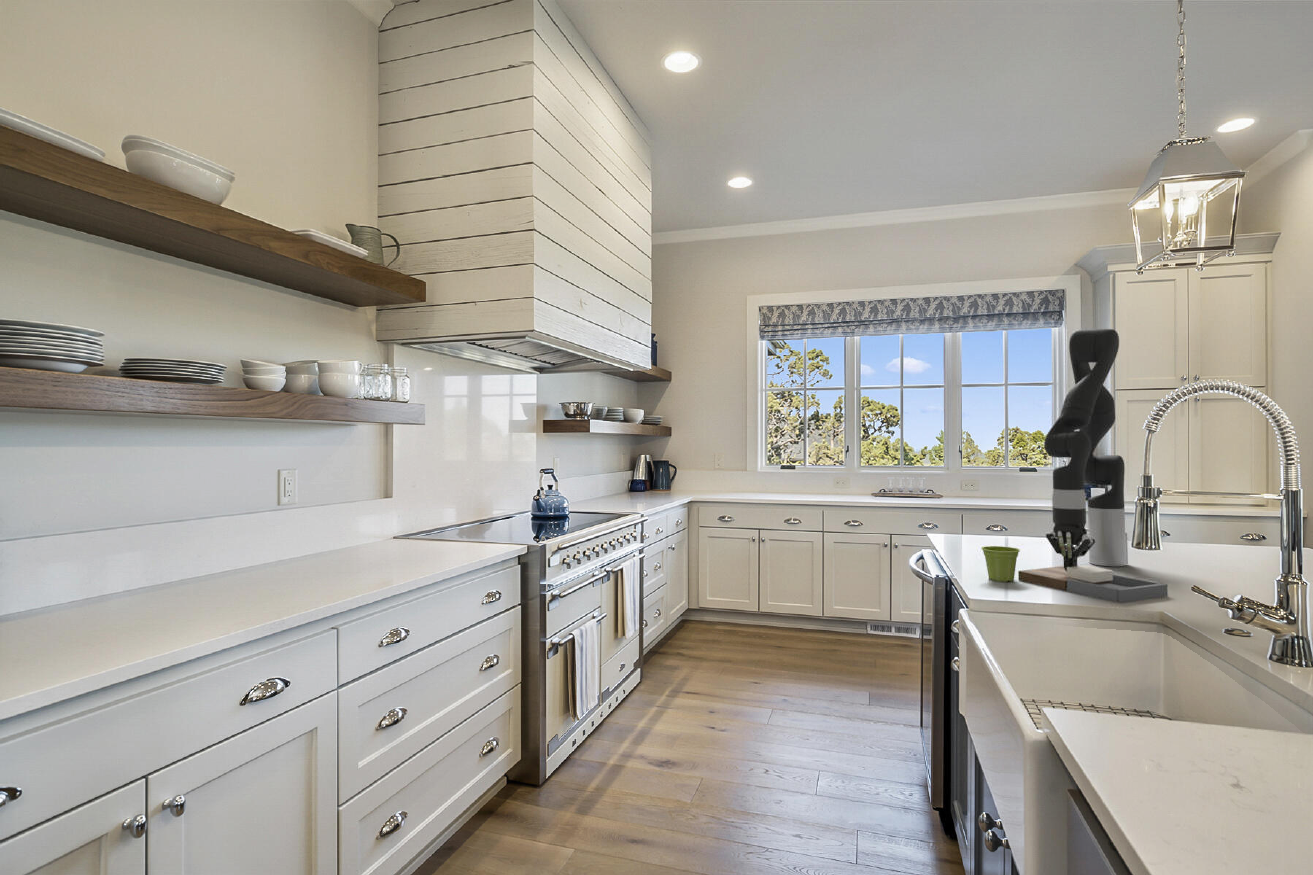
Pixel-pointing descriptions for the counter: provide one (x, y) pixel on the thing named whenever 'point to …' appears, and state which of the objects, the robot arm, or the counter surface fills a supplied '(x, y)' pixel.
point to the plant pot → (1001, 562)
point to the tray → (1120, 589)
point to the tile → (1090, 573)
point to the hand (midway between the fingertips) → (1070, 571)
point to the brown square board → (1049, 577)
